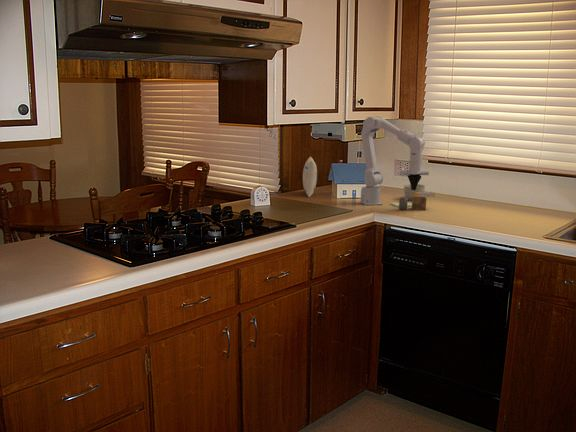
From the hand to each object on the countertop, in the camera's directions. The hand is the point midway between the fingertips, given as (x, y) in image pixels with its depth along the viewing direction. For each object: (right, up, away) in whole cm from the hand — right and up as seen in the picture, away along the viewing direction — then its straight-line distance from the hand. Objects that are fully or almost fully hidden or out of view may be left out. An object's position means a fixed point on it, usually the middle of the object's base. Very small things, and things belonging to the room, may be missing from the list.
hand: (413, 189), depth 290 cm
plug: (-5, -10, +1) cm, 11 cm away
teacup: (+6, -4, +29) cm, 30 cm away
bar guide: (+3, -9, +3) cm, 10 cm away
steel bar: (+6, -3, +2) cm, 7 cm away
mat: (-3, -7, +12) cm, 15 cm away
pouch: (-50, -1, +37) cm, 62 cm away
